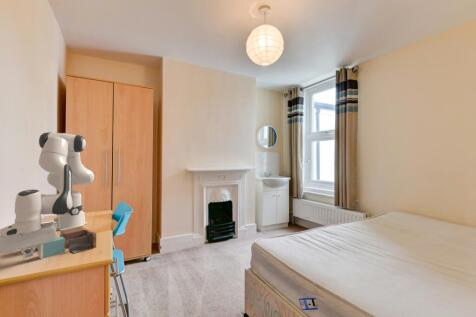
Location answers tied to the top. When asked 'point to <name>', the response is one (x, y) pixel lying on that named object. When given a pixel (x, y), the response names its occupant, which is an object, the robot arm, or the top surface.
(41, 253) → the boxed book
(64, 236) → the book stack with bookend
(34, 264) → the top surface
